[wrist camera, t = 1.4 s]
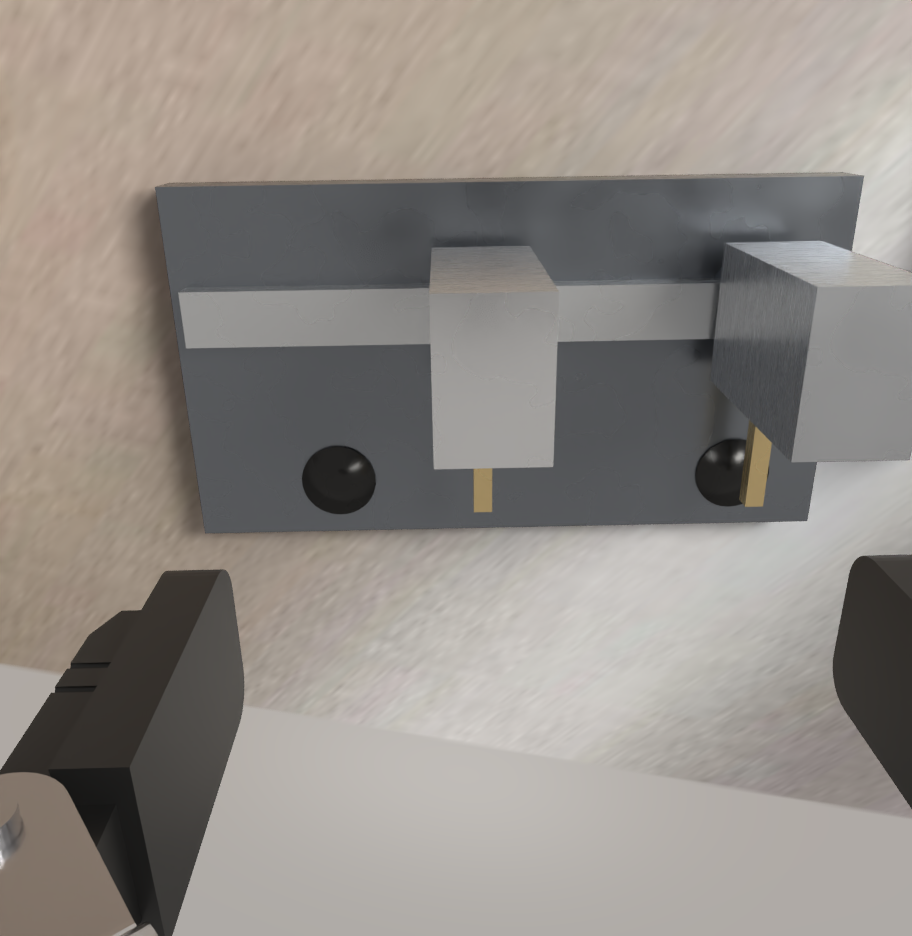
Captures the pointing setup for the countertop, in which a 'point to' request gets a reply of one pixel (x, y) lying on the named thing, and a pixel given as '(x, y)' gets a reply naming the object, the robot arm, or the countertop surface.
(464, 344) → the leg
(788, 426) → the fixed leg
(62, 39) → the countertop surface
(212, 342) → the hole plate
